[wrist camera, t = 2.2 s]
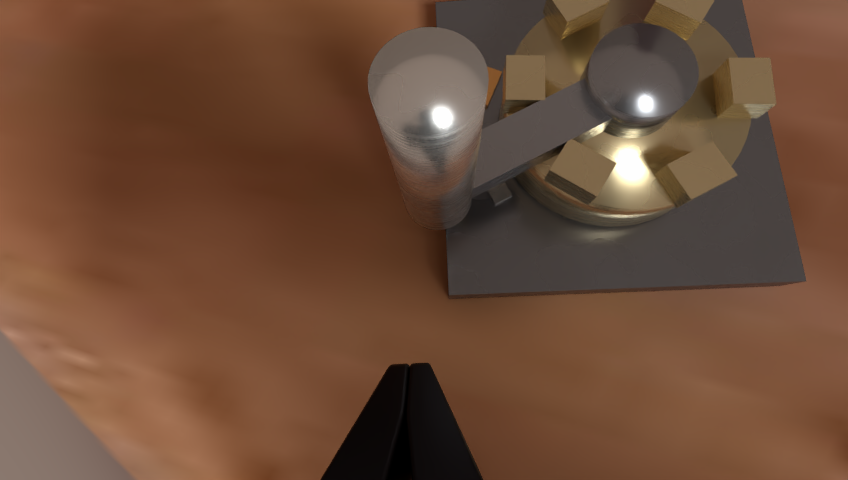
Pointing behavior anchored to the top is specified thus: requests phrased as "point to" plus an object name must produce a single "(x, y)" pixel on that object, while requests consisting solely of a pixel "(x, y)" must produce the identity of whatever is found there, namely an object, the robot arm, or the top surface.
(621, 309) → the top surface
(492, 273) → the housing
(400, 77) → the crank mechanism
